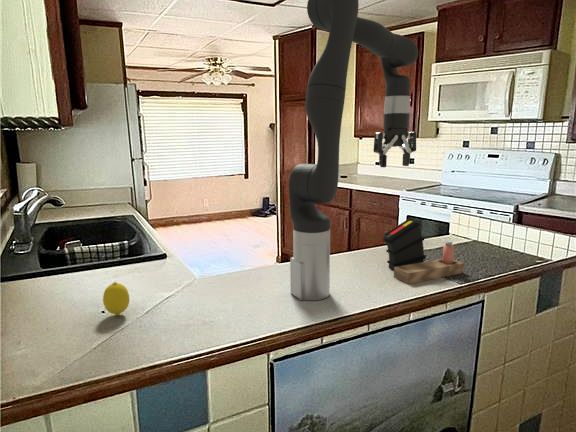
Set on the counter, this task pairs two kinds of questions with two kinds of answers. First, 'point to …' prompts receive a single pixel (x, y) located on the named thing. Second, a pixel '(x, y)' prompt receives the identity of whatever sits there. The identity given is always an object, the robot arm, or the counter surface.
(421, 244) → the magazine
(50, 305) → the counter surface
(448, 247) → the pink cylinder
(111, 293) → the lemon
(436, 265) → the joist
